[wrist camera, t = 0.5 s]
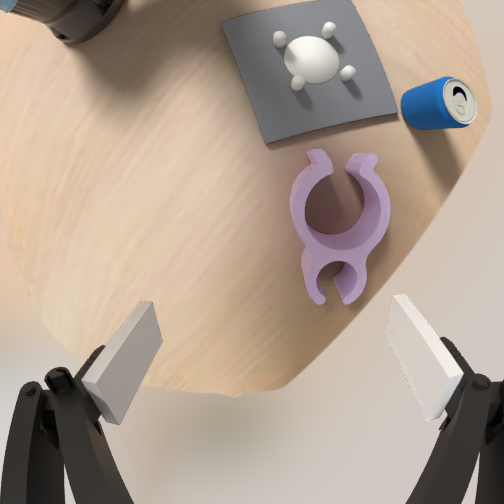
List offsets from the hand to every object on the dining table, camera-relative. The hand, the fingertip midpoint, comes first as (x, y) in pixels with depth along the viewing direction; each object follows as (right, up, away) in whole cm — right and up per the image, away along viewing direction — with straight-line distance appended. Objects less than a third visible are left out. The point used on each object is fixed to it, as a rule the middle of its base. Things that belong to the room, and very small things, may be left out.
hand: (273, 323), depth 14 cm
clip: (+10, +8, +25) cm, 29 cm away
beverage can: (+23, +25, +18) cm, 39 cm away
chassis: (+7, +30, +17) cm, 35 cm away
